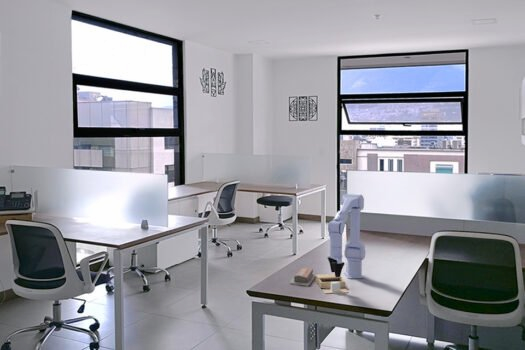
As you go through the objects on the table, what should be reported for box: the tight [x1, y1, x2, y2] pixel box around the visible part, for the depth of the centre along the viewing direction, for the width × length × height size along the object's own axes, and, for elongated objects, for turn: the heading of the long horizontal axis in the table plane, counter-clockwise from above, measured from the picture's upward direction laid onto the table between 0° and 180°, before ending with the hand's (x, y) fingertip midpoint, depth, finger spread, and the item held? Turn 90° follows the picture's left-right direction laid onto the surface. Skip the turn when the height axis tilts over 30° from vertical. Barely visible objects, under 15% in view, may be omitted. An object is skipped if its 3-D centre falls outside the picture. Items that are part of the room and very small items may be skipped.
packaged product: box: [289, 267, 317, 287], centre depth 257 cm, size 18×5×10 cm
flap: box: [321, 281, 350, 294], centre depth 239 cm, size 6×12×5 cm, turn 97°
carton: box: [315, 273, 346, 289], centre depth 250 cm, size 12×12×4 cm
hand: (335, 274), depth 239 cm, fingers open, 7 cm apart
